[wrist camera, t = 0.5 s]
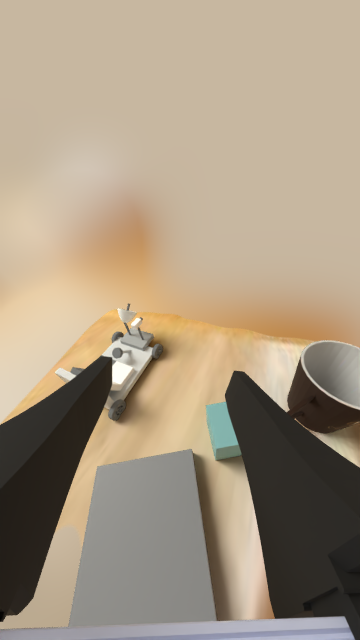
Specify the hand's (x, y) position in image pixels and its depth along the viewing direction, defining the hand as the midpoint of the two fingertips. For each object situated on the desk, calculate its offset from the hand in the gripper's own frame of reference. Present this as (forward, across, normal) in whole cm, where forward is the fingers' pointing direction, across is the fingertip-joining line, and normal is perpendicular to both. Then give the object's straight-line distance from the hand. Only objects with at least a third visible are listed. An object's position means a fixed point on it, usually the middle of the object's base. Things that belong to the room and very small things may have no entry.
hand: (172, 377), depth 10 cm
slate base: (0, -1, +22) cm, 22 cm away
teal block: (+7, -10, +16) cm, 20 cm away
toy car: (+21, +7, +18) cm, 28 cm away
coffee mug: (+9, -21, +12) cm, 26 cm away
